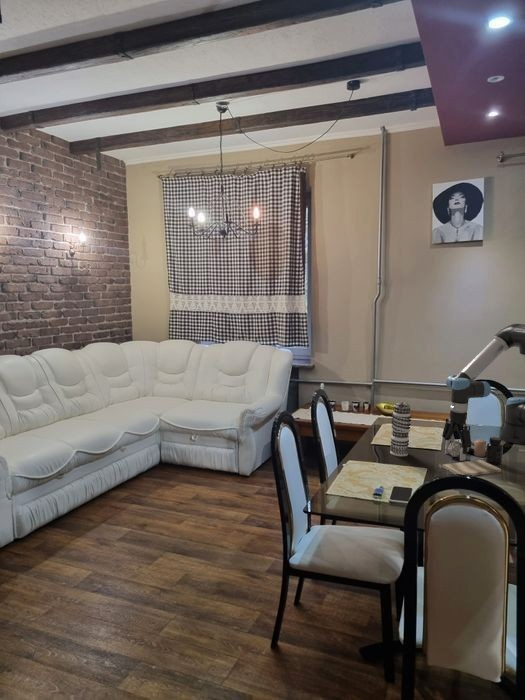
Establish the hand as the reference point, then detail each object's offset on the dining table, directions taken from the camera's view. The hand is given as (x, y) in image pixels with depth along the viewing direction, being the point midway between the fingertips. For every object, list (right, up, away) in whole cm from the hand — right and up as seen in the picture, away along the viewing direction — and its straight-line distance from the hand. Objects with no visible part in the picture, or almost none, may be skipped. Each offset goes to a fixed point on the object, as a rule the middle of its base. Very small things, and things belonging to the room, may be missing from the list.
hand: (454, 456), depth 235 cm
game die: (0, 0, 0) cm, 1 cm away
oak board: (+1, -2, -15) cm, 16 cm away
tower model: (-26, +1, +3) cm, 26 cm away
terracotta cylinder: (+13, 0, +4) cm, 14 cm away
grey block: (+7, +1, +10) cm, 12 cm away
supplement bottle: (+15, -2, -7) cm, 17 cm away
